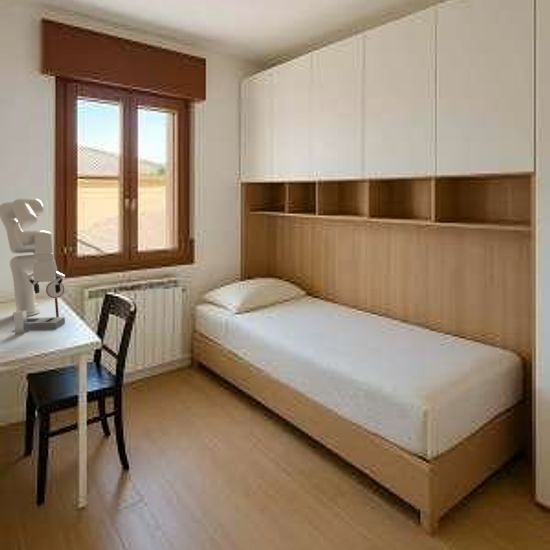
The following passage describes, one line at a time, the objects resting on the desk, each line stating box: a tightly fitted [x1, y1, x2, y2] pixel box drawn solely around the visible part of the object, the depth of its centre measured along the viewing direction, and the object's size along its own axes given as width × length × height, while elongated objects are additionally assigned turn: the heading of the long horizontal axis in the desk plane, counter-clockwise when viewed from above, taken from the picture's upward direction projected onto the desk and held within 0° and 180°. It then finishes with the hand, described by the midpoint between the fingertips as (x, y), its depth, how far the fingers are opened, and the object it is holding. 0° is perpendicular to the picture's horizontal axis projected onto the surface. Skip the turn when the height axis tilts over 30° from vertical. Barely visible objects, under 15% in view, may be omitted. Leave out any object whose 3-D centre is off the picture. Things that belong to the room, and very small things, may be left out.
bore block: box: [27, 316, 66, 330], centre depth 236 cm, size 11×19×3 cm, turn 93°
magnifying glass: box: [45, 281, 65, 317], centre depth 247 cm, size 9×2×20 cm, turn 126°
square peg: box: [12, 311, 29, 335], centre depth 224 cm, size 4×4×10 cm
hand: (47, 292), depth 233 cm, fingers open, 9 cm apart
